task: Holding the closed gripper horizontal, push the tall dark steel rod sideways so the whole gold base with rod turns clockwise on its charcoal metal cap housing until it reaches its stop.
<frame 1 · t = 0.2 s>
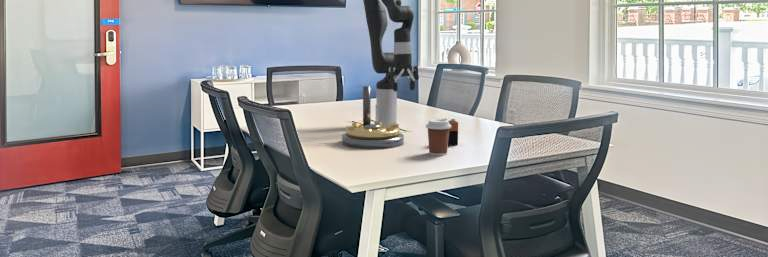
hand: (403, 90, 277), 17 cm above the table, tool pointing down, fingers open, 8 cm apart
coffee cup: (438, 154, 230), on the table
cap housing: (372, 143, 250), on the table
gold base with rod: (372, 111, 248), point 12 cm above the table, hinge at 0.0°
battery: (448, 145, 247), on the table
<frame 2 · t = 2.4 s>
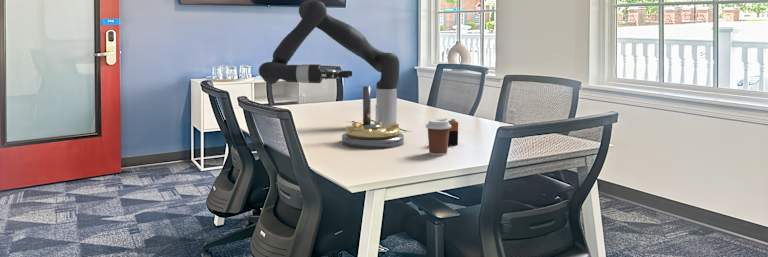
hand: (350, 74, 254), 26 cm above the table, tool horizontal, fingers open, 6 cm apart
nothing on the table moved.
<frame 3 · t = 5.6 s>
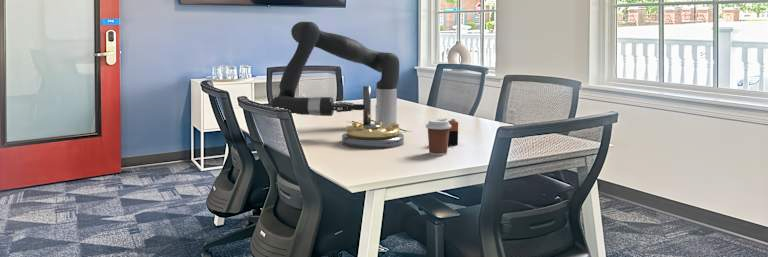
hand: (363, 107, 256), 13 cm above the table, tool horizontal, fingers closed
gold base with rod: (372, 111, 248), point 12 cm above the table, hinge at 0.5°, touching gripper
everything else where it was.
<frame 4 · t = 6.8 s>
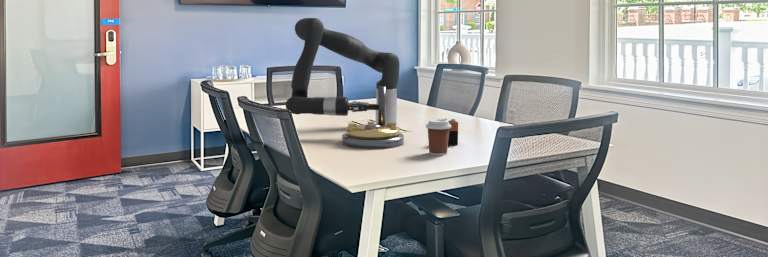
hand: (378, 107, 257), 13 cm above the table, tool horizontal, fingers closed
gold base with rod: (372, 111, 248), point 12 cm above the table, hinge at 41.6°, touching gripper
everything else where it was.
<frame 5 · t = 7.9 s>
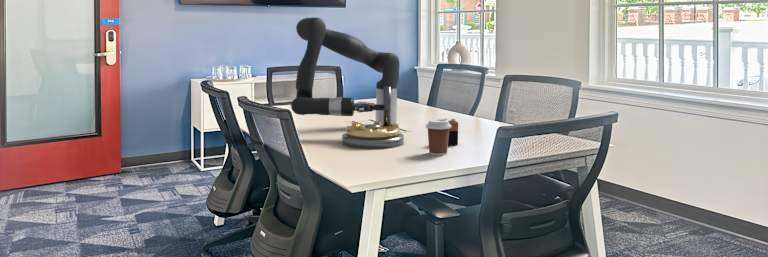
hand: (384, 107, 256), 13 cm above the table, tool horizontal, fingers closed
gold base with rod: (372, 111, 248), point 12 cm above the table, hinge at 58.1°, touching gripper
everything else where it was.
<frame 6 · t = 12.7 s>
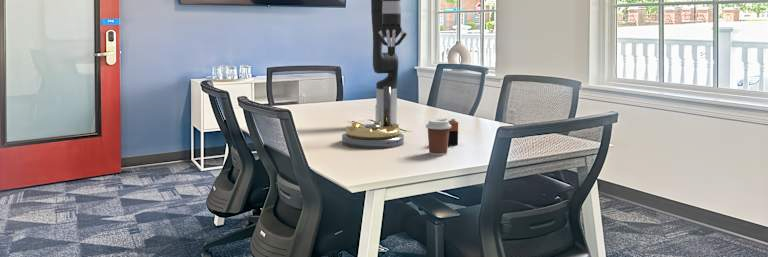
hand: (391, 56, 261), 33 cm above the table, tool pointing down, fingers closed
gold base with rod: (372, 111, 248), point 12 cm above the table, hinge at 58.2°
everything else where it was.
at the end: gold base with rod at +58° (first picture: +0°); battery moved 0.2 cm from its start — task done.
